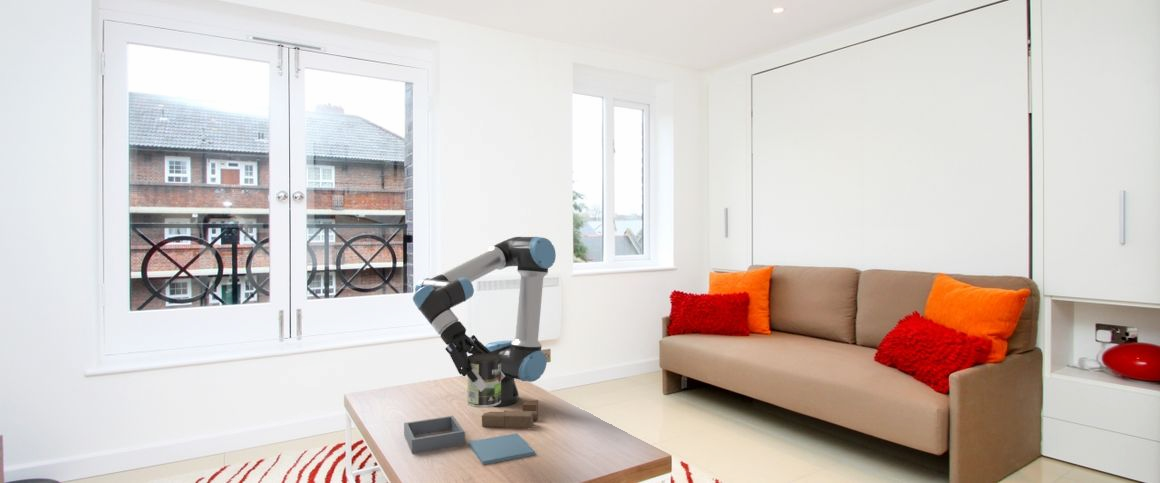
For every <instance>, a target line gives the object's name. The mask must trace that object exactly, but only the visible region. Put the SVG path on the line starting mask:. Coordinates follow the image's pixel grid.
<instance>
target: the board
mask: <svg viewBox="0 0 1160 483" xmlns="http://www.w3.org/2000/svg"><path fill="white" fill-rule="evenodd" d="M468 446H469V447H470V449H471V451H473V453H474V454H475V456H476V458H477V459H478V460H479V462H480V463H481V465H482V466H484V465H488V464H493V463H498V462H505V461H509V460H510V461H511V460H514V459H515V460H516V459H520V458H525V457H530V456H536V451H535V450H534V449H533V448H532V447H531V446H530V444H528V442H526V441H525V439H524V438H522V437H521V435H520V434H519V433H517V432H516V433H510V434H506V435H505V434H504V435H499V436H498V435H497V436H493V437H487V438H482V439H476V440H469V441H468Z"/></svg>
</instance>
